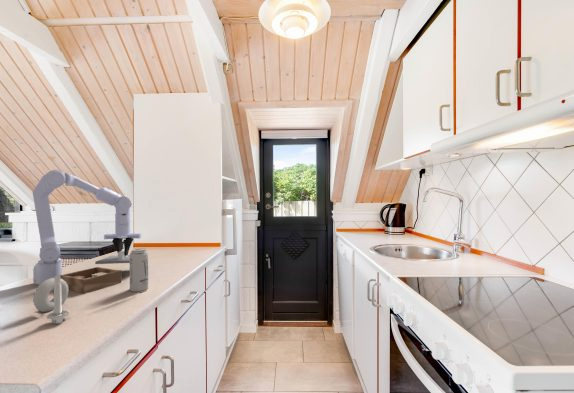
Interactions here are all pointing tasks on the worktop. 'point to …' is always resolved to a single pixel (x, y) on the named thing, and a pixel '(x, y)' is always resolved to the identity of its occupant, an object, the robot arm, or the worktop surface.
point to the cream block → (98, 274)
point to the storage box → (91, 279)
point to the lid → (115, 259)
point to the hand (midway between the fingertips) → (123, 255)
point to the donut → (43, 292)
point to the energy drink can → (138, 270)
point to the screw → (57, 303)
